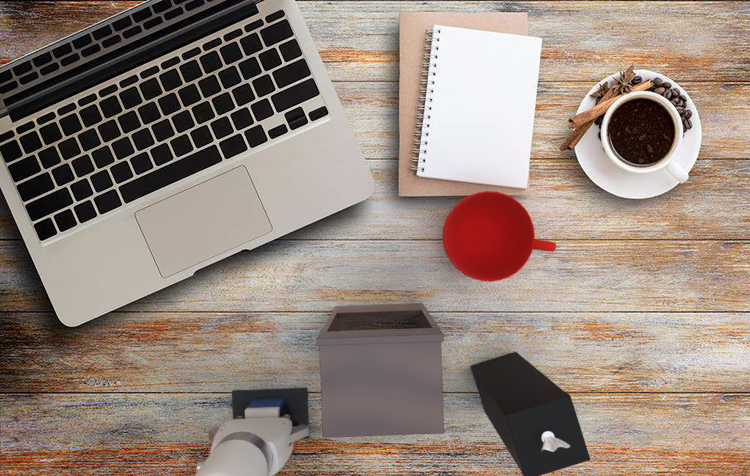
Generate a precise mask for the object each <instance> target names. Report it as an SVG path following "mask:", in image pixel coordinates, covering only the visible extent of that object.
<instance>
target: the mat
mask: <svg viewBox="0 0 750 476" xmlns="http://www.w3.org/2000/svg"><path fill="white" fill-rule="evenodd" d="M268 398H285V405H288V406H289V412H292V415H293V420H297V421H298V422H299V424H305V425H308V426H309V427H310V425H309V399H308V398H309V397H308V387H297V388H296V387H295V388H294V387H293V388H267V389H265V388H263V389H238V390H237V389H236V390H232V391H231V400H232V401H231V402H232V403H231V404H232V420H234V419H235V417H237V416H242V414H243V413H244V412H245V410H246V408H247V407H248V406H249V405H250V403H251V402H252V401H253V400H254V399H268ZM309 438H310V435H308V436H306V437H304V438H301V439H300V440H309Z"/></svg>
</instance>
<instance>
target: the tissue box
mask: <svg viewBox="0 0 750 476" xmlns="http://www.w3.org/2000/svg"><path fill="white" fill-rule="evenodd" d="M469 367H470V371H471V373H472V377H473V381H474V383H475V386H476V389H477V393H478V395H479V399H480V402H481V405H482V408H483V411H484V414H485V415H486V417H487V418H488V420H489V421H490V423H491V425H492V426H493V428H494V430H495V432H496V433H497V435H498V437H499V438H500V439H501V441H502V443H503V445H504V446H505V448H506V450H507V451H508V452H509V454H510V456H511V458H512V459H513V461H514V462H515V464H516V466H517V467H518V469H519V471H520V472H521V475H522V476H544V475H547V474H550V473H553V472H557V471H560V470H563V469H566V468H569V467H573V466H576V465H579V464H582V463H585V462H588V461H591V457H590V453H589V450H588V447H587V443H586V440H585V437H584V434H583V430H582V428H581V427H582V426H581V424H580V421H579V419H578V415H577V413H576V409H575V405H574V402H573V399H572V396H571V395H570V394H569V393H568V392H566V391H565V390H563V389H562V388H561V387H559V386H558V385H557V384H556V383H555V382H553V381H552V380H551V379H550V378H549V377H548V376H546V375H545V374H544V373H542V372H541V371H540V370H539V369H538V368H536V367H535V366H534V365H533V364H532V363H531V362H529V361H528V360H527V359H526V358H525V357H523V356H522V355H521V354H519V353H518V351H514V352H510V353H507V354H504V355H501V356H497V357H495V358H491V359H488V360H485V361H482V362H478V363H475V364H472V365H470V366H469Z"/></svg>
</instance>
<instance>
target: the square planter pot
mask: <svg viewBox="0 0 750 476" xmlns="http://www.w3.org/2000/svg"><path fill="white" fill-rule="evenodd" d="M410 316H413V317H414V316H417V324H418V325H417V326H418V327H417V328H396V329H395V328H394V329H393V328H391V329H367V330H365V329H364V330H363V329H362V330H342V319H353V318H354V319H355V318H384V317H386V318H387V317H410ZM442 342H445V334H444V333H443V331H442V330H441V328H440V326H439V325H438V324H437V322H436V321H435V319H434V318H433V317H432V315H431V313H430V312H429V311H428V309H427V308H426V306H425V304H424V303H423V302H418V303H417V302H416V303H415V302H413V303H411V302H410V303H385V304H384V303H383V304H360V305H359V304H358V305H354V304H353V305H335V307H334V308H333V309H332V311H331V313H330V315H329V316H328V317H327V320H326V322H324V325H323V326H322V328H321V330H320V331H319V333H318V334H317V336H316V338H315V346H316V347H317V346H318V347H319V348H318V349H319V373H320V375H319V377H320V402H321V403H320V404H321V429H322V431H321V432H322V438H323V439H325V438H327V439H329V438H353V437H355V438H356V437H382V436H385V437H386V436H388V437H389V436H411V435H414V436H415V435H440V434H441V435H442V434H443V435H444V434H445V419H444V418H445V416H444V415H445V413H444V387H443V385H444V384H443V359H442V358H443V357H442Z"/></svg>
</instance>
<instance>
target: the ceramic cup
mask: <svg viewBox="0 0 750 476" xmlns="http://www.w3.org/2000/svg"><path fill="white" fill-rule="evenodd" d="M535 233H536V232H535V228H534V224H533V220H532V217H531V216H530V214H529V212H528V210H527V209H526V208H525V206H523V204H522V203H520V202H519V201H518V200H517V199H516V198H514V197H512V196H510V195H508V194H506V193H504V192H500V191H491V190H485V191H477V192H476V193H472V194H470V195H468V196H466V197H464V198H462V199H461V200H460V201H459V202H457V203H456V204H455V205H454V207H453V208H452V209H451V211H449V213H448V215H447V216H446V218H445V221H444V223H443V227H442V236H441V237H442V244H443V248H444V252H445V254H446V257H447V258H448V260H449V261H450V263H451V265H453V266H454V268H455V269H456V270H457V271H459V272H461V273H462V274H463V275H464V276H467V277H468V278H470V279H472V280H476V281H480V282H491V283H492V282H497V281H498V282H499V281H503V280H505V279H509V278H510V277H513V275H515V274H517V273H518V272H519V271H520V270H521V269H523V268H524V266H525V265H526V264H527V262H528V261H529V259H530V258H531V255H532V253H533V250H535V251H544V252H551V253H553V252H555V251H556V249H557V243H556V242H554V241H551V240H550V241H549V240H543V239H538V238H537V239H536V238H535V237H536V234H535Z"/></svg>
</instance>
